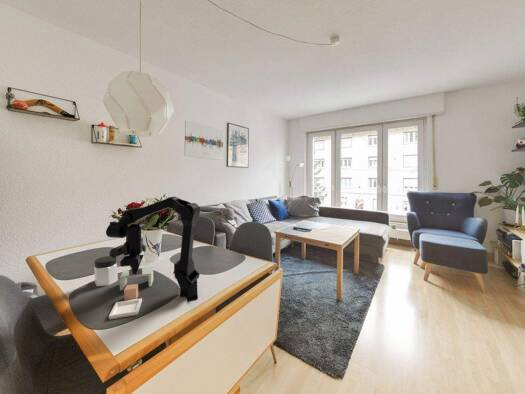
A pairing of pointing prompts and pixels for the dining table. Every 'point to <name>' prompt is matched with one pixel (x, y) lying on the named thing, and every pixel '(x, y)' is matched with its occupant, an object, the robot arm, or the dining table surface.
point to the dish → (125, 308)
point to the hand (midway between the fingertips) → (134, 273)
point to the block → (131, 292)
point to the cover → (136, 275)
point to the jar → (105, 271)
